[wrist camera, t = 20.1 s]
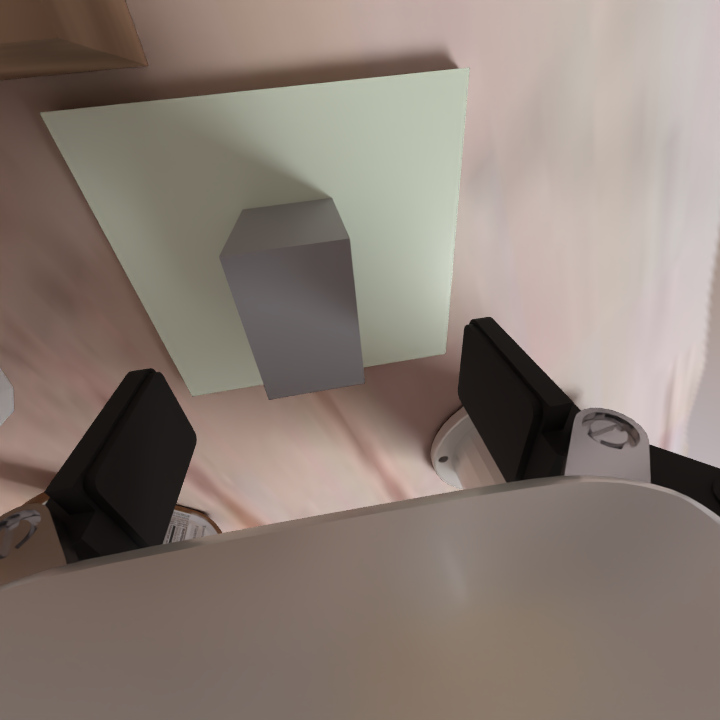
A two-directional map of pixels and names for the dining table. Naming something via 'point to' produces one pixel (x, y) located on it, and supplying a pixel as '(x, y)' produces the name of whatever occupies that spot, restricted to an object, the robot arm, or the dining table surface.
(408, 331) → the cover
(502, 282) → the dining table surface
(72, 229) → the dining table surface
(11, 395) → the french press
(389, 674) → the robot arm
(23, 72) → the housing
